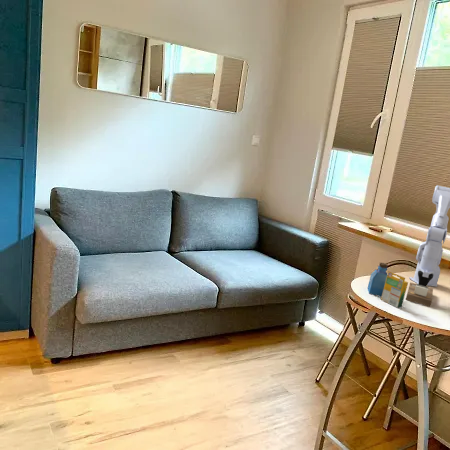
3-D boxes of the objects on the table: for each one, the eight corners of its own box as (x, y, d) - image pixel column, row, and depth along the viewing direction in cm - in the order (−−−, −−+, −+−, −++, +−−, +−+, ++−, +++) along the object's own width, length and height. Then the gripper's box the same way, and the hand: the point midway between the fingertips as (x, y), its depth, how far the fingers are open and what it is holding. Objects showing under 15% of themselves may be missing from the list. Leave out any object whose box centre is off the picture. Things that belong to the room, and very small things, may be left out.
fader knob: (414, 291, 180) (416, 283, 180) (426, 294, 179) (428, 286, 178) (414, 293, 178) (416, 285, 177) (426, 296, 176) (428, 288, 175)
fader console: (408, 287, 193) (410, 282, 193) (431, 294, 190) (433, 288, 189) (405, 299, 177) (407, 293, 177) (430, 307, 174) (432, 300, 173)
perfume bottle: (385, 297, 176) (393, 267, 174) (369, 293, 177) (376, 264, 175) (383, 292, 182) (390, 263, 180) (367, 288, 183) (374, 260, 181)
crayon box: (401, 307, 168) (410, 277, 166) (397, 308, 167) (405, 278, 164) (385, 299, 174) (392, 270, 171) (380, 299, 172) (388, 270, 170)
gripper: (441, 264, 170) (431, 298, 173) (441, 256, 182) (432, 288, 186) (421, 259, 172) (411, 292, 175) (422, 251, 185) (413, 283, 188)
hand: (421, 290), depth 181 cm, fingers closed
